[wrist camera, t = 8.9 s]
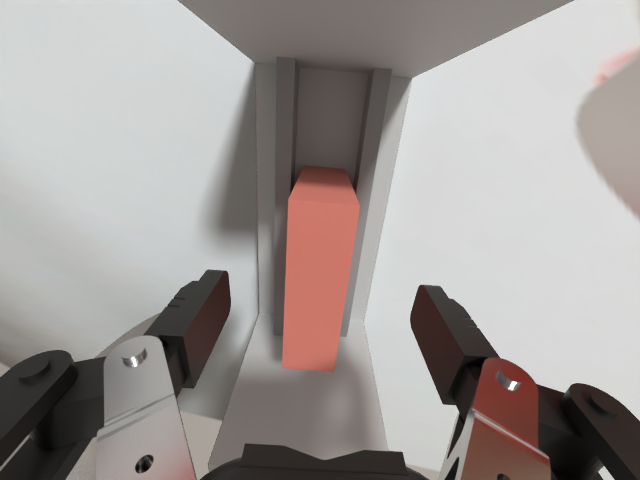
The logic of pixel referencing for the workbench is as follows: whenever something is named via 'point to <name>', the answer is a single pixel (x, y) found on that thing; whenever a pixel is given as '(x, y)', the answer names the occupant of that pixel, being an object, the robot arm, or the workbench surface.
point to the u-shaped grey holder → (335, 152)
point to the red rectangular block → (317, 266)
